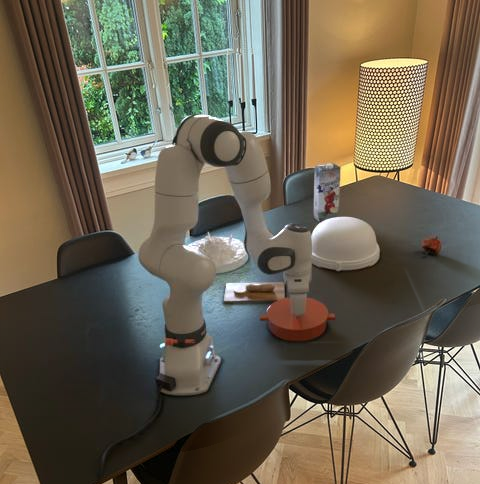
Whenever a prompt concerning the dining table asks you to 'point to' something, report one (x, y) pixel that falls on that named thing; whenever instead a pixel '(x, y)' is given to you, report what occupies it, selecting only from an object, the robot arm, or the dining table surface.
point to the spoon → (253, 288)
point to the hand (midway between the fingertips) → (297, 311)
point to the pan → (297, 334)
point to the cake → (222, 252)
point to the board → (254, 293)
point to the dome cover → (344, 244)
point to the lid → (286, 320)
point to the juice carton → (326, 191)
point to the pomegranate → (431, 246)
